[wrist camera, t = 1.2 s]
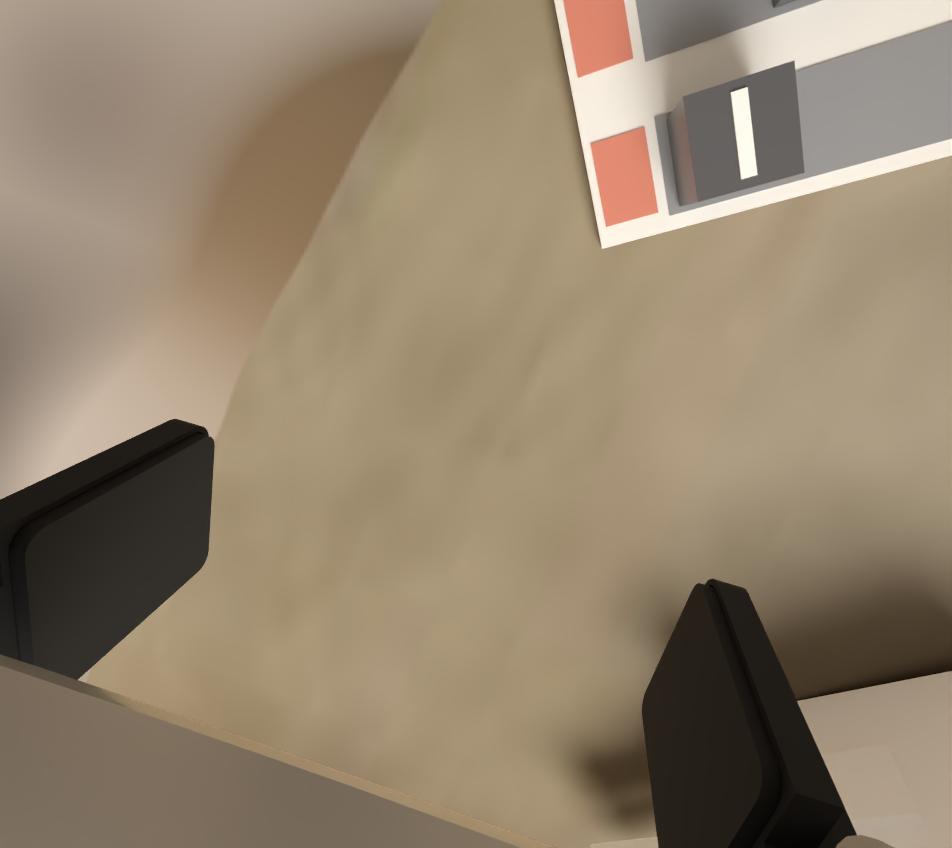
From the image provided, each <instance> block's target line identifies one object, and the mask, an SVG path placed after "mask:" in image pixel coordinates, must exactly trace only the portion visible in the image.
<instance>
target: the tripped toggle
mask: <svg viewBox="0 0 952 848" xmlns="http://www.w3.org/2000/svg"><path fill="white" fill-rule="evenodd" d="M793 1H796V0H773V8H776V7H779V6H782V5H785V4H787V3H790V2H793Z"/></svg>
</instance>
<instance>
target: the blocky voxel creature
mask: <svg viewBox="0 0 952 848" xmlns="http://www.w3.org/2000/svg"><path fill="white" fill-rule="evenodd" d="M797 702H798V705H799V707H800V709H801V711H802V714H803V716H804V718H805V720H806V722H807V725H808V727H809V729H810V731H811V733H812V736H813V738H814V740H815V742H816V745H817V747H818V749H819V751H820V753H821V756H822V758H823V760H824V762H825V764H826V767H827V769H828V771H829V773H830V775H831V778H832V780H833V782H834V784H835V787H836V789H837V791H838V793H839V795H840V798H841V800H842V802H843V804H844V806H845V809H846V811H847V814H848V816H849V818H850V820H851V822H852V825H853V827H854V829H855V831H856V834H857V835H863V836H867V837H871V838H874V839H878V840H880V841H882V842H884V843H886V844H888V845H890V846H892V847H894V848H952V671H949V672H944V673H939V674H934V675H928V676H923V677H918V678H913V679H908V680H903V681H898V682H892V683H887V684H882V685H877V686H872V687H867V688H862V689H857V690H851V691H846V692H841V693H836V694H831V695H826V696H821V697H816V698H810V699H805V700H800V701H797ZM590 848H658V839H657V837H649V838H640V839H631V840H623V841H614V842H605V843H596V844H590Z"/></svg>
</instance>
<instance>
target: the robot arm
mask: <svg viewBox="0 0 952 848" xmlns="http://www.w3.org/2000/svg"><path fill="white" fill-rule="evenodd" d="M213 463H214V440H213V439H212V438H211V437H209V435H208V432H207V430H206V429H205V428H204V427H202V426H198V425H195V424H192V423H188V422H185V421H181V420H178V419H173V420H169V421H167V422H165V423H163V424H161V425H159V426H157V427H155V428H152V429H150V430H148V431H146V432H144V433H142V434H139V435H137V436H135V437H133V438H131V439H129V440H127V441H125V442H122V443H120V444H118V445H116V446H114V447H112V448H110V449H108V450H106V451H103V452H101V453H99V454H97V455H95V456H93V457H90V458H89V459H87V460H84V461H82V462H80V463H78V464H75V465H73V466H71V467H69V468H67V469H65V470H63V471H60V472H58V473H56V474H54V475H52V476H50V477H48V478H46V479H43V480H41V481H39V482H37V483H35V484H33V485H31V486H28V487H26V488H24V489H22V490H20V491H18V492H16V493H14V494H11V495H9V496H7V497H5V498H3V499H1V500H0V848H556V847H553V846H550V845H547V844H545V843H542V842H539V841H536V840H533V839H531V838H528V837H525V836H522V835H519V834H516V833H514V832H511V831H508V830H505V829H502V828H500V827H497V826H494V825H491V824H488V823H486V822H483V821H480V820H477V819H474V818H472V817H469V816H466V815H463V814H460V813H457V812H455V811H452V810H449V809H446V808H443V807H441V806H438V805H435V804H432V803H429V802H427V801H424V800H421V799H418V798H415V797H413V796H410V795H407V794H404V793H401V792H399V791H396V790H393V789H390V788H387V787H384V786H381V785H379V784H376V783H373V782H370V781H367V780H364V779H361V778H359V777H356V776H353V775H350V774H347V773H344V772H341V771H339V770H336V769H333V768H330V767H327V766H324V765H321V764H319V763H316V762H313V761H310V760H307V759H304V758H301V757H299V756H296V755H293V754H290V753H287V752H284V751H281V750H279V749H276V748H273V747H270V746H267V745H264V744H261V743H258V742H256V741H253V740H250V739H247V738H244V737H241V736H238V735H235V734H233V733H230V732H227V731H224V730H221V729H218V728H215V727H212V726H210V725H207V724H204V723H201V722H198V721H195V720H192V719H189V718H186V717H184V716H181V715H178V714H175V713H172V712H169V711H166V710H163V709H160V708H157V707H154V706H151V705H148V704H146V703H143V702H140V701H137V700H134V699H131V698H128V697H125V696H122V695H119V694H116V693H113V692H110V691H108V690H105V689H102V688H99V687H96V686H93V685H90V684H87V683H84V682H81V681H78V679H79V678H80V677H81V676H82V675H83V674H85V672H87V671H88V670H89V669H90V668H91V667H92V666H93V665H95V664H96V663H97V662H98V661H99V660H100V659H101V658H102V657H103V656H105V655H106V654H107V653H108V652H109V651H110V650H111V649H112V648H113V647H115V646H116V645H117V644H118V643H119V642H120V641H121V640H122V639H124V638H125V637H126V636H127V635H128V634H129V633H130V632H131V631H132V630H134V629H135V628H136V627H137V626H138V625H139V624H140V623H141V622H142V621H144V620H145V619H146V618H147V617H148V616H149V615H150V614H151V613H153V612H154V611H155V610H156V609H157V608H158V607H159V606H160V605H161V604H163V603H164V602H165V601H166V600H167V599H168V598H169V597H170V596H171V595H173V594H174V593H175V592H176V591H177V590H178V589H179V588H180V587H181V586H183V585H184V584H185V583H186V582H187V581H188V580H189V579H190V578H192V577H193V576H194V575H195V574H196V573H197V572H198V571H199V570H200V569H201V568H202V566H203V565H204V563H205V561H206V559H207V556H208V549H209V532H210V515H211V498H212V480H213ZM642 717H643V725H644V733H645V742H646V750H647V758H648V766H649V774H650V782H651V791H652V799H653V807H654V815H655V823H656V831H657V839H658V848H894V847H892V846H890V845H888V844H886V843H884V842H882V841H880V840H878V839H874V838H871V837H867V836H863V835H857V834H856V831H855V829H854V827H853V825H852V822H851V820H850V818H849V816H848V814H847V811H846V809H845V806H844V804H843V802H842V800H841V798H840V795H839V793H838V791H837V789H836V787H835V784H834V782H833V780H832V778H831V775H830V773H829V771H828V769H827V767H826V764H825V762H824V760H823V758H822V756H821V753H820V751H819V749H818V747H817V745H816V742H815V740H814V738H813V736H812V733H811V731H810V729H809V727H808V725H807V722H806V720H805V718H804V716H803V714H802V711H801V709H800V707H799V705H798V702H797V700H796V698H795V696H794V694H793V691H792V689H791V687H790V685H789V683H788V680H787V678H786V676H785V674H784V672H783V669H782V667H781V665H780V663H779V660H778V658H777V656H776V654H775V652H774V649H773V647H772V645H771V643H770V641H769V638H768V636H767V634H766V632H765V630H764V627H763V625H762V623H761V621H760V618H759V616H758V614H757V612H756V610H755V607H754V605H753V603H752V601H751V599H750V596H749V594H748V592H747V591H746V589H744V588H742V587H738V586H735V585H732V584H728V583H725V582H721V581H718V580H715V579H710V580H708V581H707V583H706V584H705V585H703V584H700V583H698V584H696V585H695V586H694V588H693V590H692V592H691V594H690V596H689V598H688V601H687V603H686V605H685V607H684V609H683V611H682V614H681V616H680V618H679V620H678V622H677V624H676V627H675V629H674V631H673V633H672V635H671V637H670V640H669V642H668V644H667V646H666V648H665V650H664V653H663V655H662V657H661V659H660V661H659V663H658V666H657V668H656V670H655V672H654V674H653V677H652V679H651V681H650V683H649V685H648V687H647V690H646V692H645V695H644V699H643V704H642Z"/></svg>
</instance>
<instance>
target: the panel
mask: <svg viewBox="0 0 952 848" xmlns="http://www.w3.org/2000/svg"><path fill="white" fill-rule="evenodd" d="M554 3H555V9H556V14H557V19H558V24H559V29H560V35H561V40H562V45H563V50H564V55H565V61H566V66H567V71H568V76H569V81H570V86H571V92H572V97H573V102H574V107H575V112H576V118H577V123H578V128H579V133H580V138H581V143H582V149H583V154H584V159H585V164H586V169H587V175H588V180H589V185H590V190H591V195H592V200H593V206H594V211H595V216H596V221H597V226H598V232H599V237H600V242H601V247H602V249H603V248H607V247H611V246H614V245H618V244H622V243H625V242H629V241H633V240H637V239H640V238H644V237H648V236H652V235H655V234H659V233H663V232H667V231H670V230H674V229H678V228H682V227H685V226H689V225H693V224H697V223H700V222H704V221H708V220H712V219H715V218H719V217H723V216H727V215H730V214H734V213H738V212H741V211H745V210H749V209H753V208H756V207H760V206H764V205H768V204H771V203H775V202H779V201H783V200H786V199H790V198H794V197H798V196H801V195H805V194H809V193H813V192H816V191H820V190H824V189H828V188H831V187H835V186H839V185H843V184H846V183H850V182H854V181H857V180H861V179H865V178H869V177H872V176H876V175H880V174H884V173H887V172H891V171H895V170H899V169H902V168H906V167H910V166H914V165H917V164H921V163H925V162H929V161H932V160H936V159H940V158H944V157H947V156H951V155H952V0H796V1H793V2H790V3H787V4H785V5H782V6H779V7H776V8H773V0H554Z"/></svg>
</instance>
